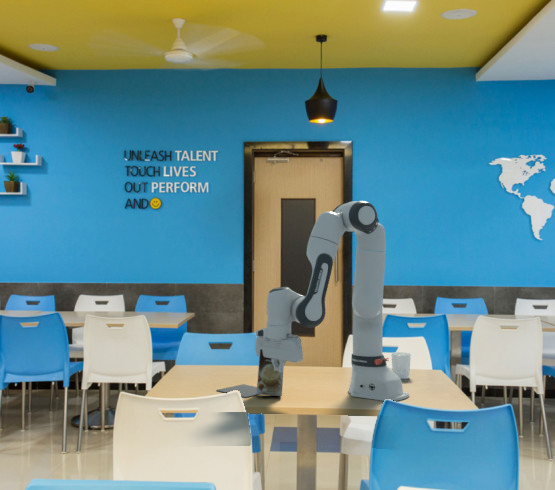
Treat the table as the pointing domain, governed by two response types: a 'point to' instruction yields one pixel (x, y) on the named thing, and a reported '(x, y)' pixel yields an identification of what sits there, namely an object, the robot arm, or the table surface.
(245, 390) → the rubber mat
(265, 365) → the coffee box
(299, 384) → the table surface
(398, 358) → the white cup
